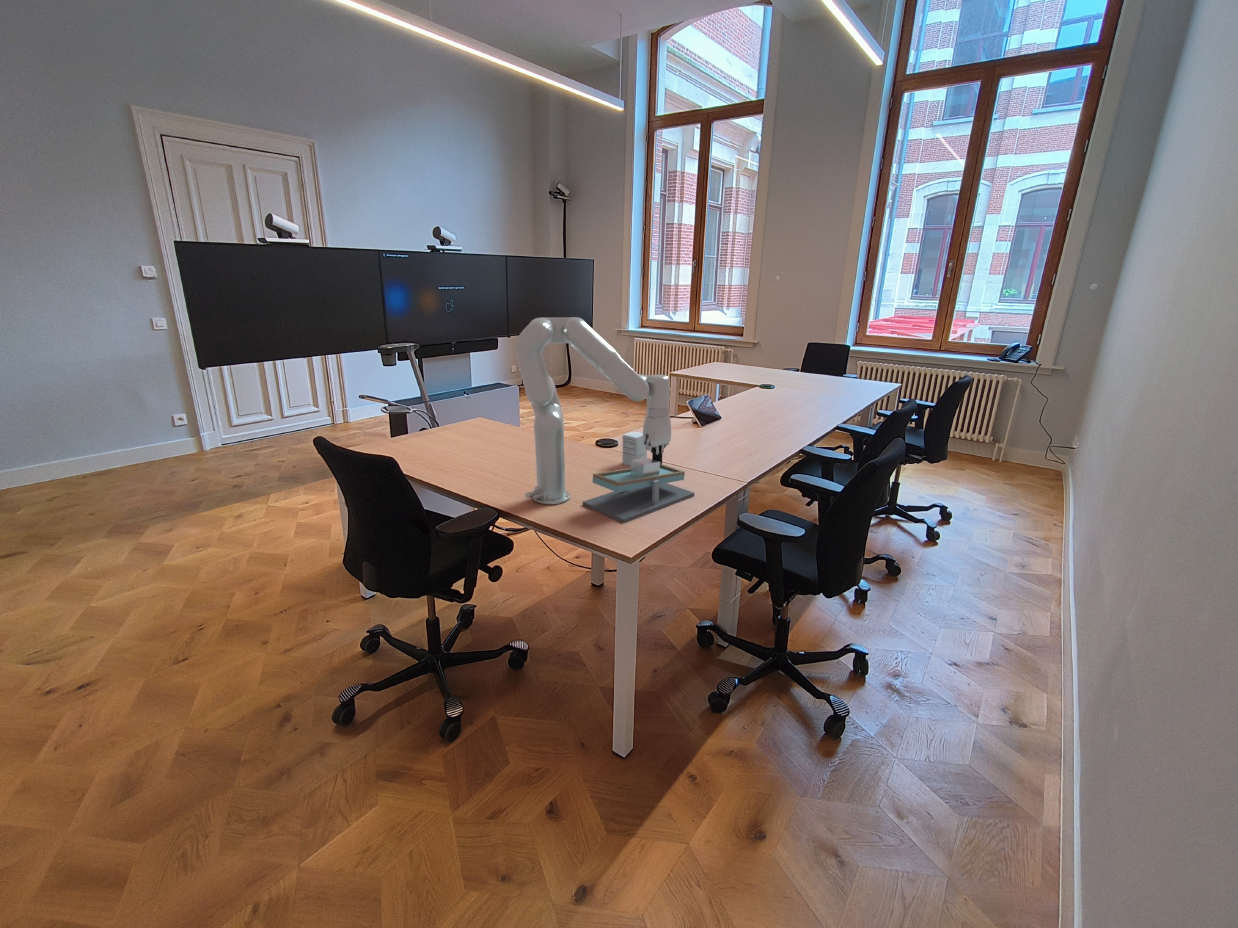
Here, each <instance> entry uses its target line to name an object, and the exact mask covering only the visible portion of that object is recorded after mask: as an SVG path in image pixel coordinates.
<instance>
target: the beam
mask: <svg viewBox="0 0 1238 928" xmlns="http://www.w3.org/2000/svg"><path fill="white" fill-rule="evenodd" d="M630 468H631V467H629V468H622V469H616V470H610V471H603V472H596V473H593V474H592V484H595V485H598V486H600V487H603V488H604V489H608V490H610V491H612V492H614V491H615V492H622V491H628V490H633V489H638V488H643V487H649V486H652V481H655V480H659V484H664V483H667V484H669V483H673V482H680V481H685V473H686V471H685V470H681V469H678V468H675V467H672V466H669V465H665V464H663V463H662V464H661V465H660V470H659V475H656V476H650V477H644V478H639V477H636V476H633V475H630Z"/></svg>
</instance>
